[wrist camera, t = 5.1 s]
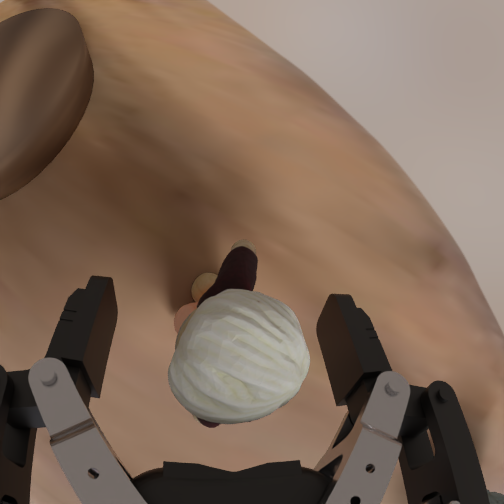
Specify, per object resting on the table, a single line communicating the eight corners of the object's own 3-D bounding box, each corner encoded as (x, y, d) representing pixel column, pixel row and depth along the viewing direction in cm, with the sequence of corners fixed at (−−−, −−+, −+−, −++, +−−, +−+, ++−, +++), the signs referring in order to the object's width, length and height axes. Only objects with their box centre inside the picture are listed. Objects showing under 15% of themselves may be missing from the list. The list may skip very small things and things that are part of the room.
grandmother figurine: (178, 253, 18) (151, 161, 6) (244, 258, 19) (342, 181, 6) (174, 384, 17) (149, 526, 4) (239, 386, 17) (320, 517, 5)
